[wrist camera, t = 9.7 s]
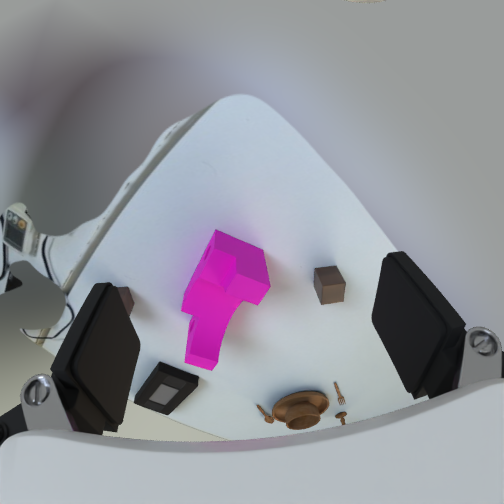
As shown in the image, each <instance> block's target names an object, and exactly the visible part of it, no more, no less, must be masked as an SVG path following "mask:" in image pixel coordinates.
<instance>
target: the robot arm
mask: <svg viewBox="0 0 504 504" xmlns="http://www.w3.org/2000/svg"><path fill="white" fill-rule="evenodd" d="M372 323H373V325H374V327H375V329H376V331H377V333H378V335H379V337H380V338H381V340H382V342H383V344H384V346H385V348H386V350H387V352H388V354H389V356H390V358H391V360H392V362H393V364H394V366H395V368H396V370H397V372H398V374H399V376H400V378H401V380H402V383H403V385H404V387H405V389H406V391H407V392H408V393H411V394H412V396H413V398H414V400H415V399H417V398H420V397H423V396H426V395H428V397H429V400H426V401H424V402H421V403H418V404H415V405H412V406H409V407H406V408H403V409H400V410H397V411H394V412H390V413H387V414H384V415H380V416H377V417H373V418H370V419H366V420H362V421H358V422H354V423H350V424H346V425H341V426H337V427H332V428H327V429H322V430H317V431H311V432H305V433H299V434H293V435H286V436H278V437H270V438H260V439H249V440H235V441H212V442H176V441H175V442H174V441H154V440H140V439H130V438H120V437H110V436H103V435H102V434H103V430H104V431H112V432H117V429H118V425H121V424H122V422H123V418H124V413H125V409H126V404H127V400H128V396H129V391H130V387H131V383H132V379H133V375H134V371H135V367H136V363H137V359H138V356H139V352H140V340H139V338H138V336H137V333H136V331H135V329H134V327H133V325H132V322H131V320H130V318H129V315H128V313H127V311H126V308H125V306H124V303H123V301H122V298H121V296H120V293H119V291H118V289H117V287H116V286H113V285H112V284H111V283H110V282H107V283H96V284H95V285H94V286H93V288H92V289H91V291H90V293H89V295H88V296H87V298H86V300H85V302H84V303H83V305H82V307H81V309H80V311H79V312H78V314H77V316H76V318H75V320H74V322H73V324H72V325H71V327H70V329H69V331H68V333H67V335H66V337H65V339H64V341H63V343H62V345H61V347H60V349H59V351H58V353H57V355H56V357H55V360H54V362H53V364H52V366H51V368H50V369H51V371H52V372H53V373H52V376H51V377H50V376H49V375H46V374H38V375H35V376H33V377H31V378H30V379H29V380H28V381H27V382H26V383H25V384H24V386H23V388H22V390H21V394H20V397H21V404H19V405H17V406H16V407H15V408H13V409H11V410H10V411H8V412H7V413H5V414H4V415H2V416H0V504H504V352H503V351H502V349H501V348H502V347H501V342H500V341H499V338H498V337H497V336H496V335H495V333H493V332H492V331H490V330H489V329H487V328H484V327H473V328H471V329H469V331H468V332H467V331H466V330H465V329H464V327H465V325H466V323H465V322H464V321H463V320H462V318H461V317H460V316H459V314H458V313H457V312H456V311H455V309H454V308H453V307H452V306H451V304H450V303H449V302H448V301H447V300H446V298H445V297H444V296H443V295H442V294H441V292H440V291H439V290H438V289H437V288H436V286H435V285H434V284H433V283H432V282H431V281H430V280H429V279H428V277H427V276H426V275H425V274H424V273H423V272H422V271H421V269H419V267H418V266H417V265H416V264H415V263H414V262H413V261H412V260H411V258H409V256H408V255H407V254H406V253H405V252H403V251H401V252H392V253H388V254H387V256H386V257H385V258H384V259H383V261H382V266H381V272H380V278H379V283H378V288H377V293H376V298H375V302H374V307H373V312H372Z"/></svg>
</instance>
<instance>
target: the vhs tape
mask: <svg viewBox="0 0 504 504" xmlns="http://www.w3.org/2000/svg"><path fill="white" fill-rule="evenodd" d="M198 379H199V377H198V376H195V375H192V374H190V373H187V372H184V371H182V370H179V369H177V368H174V367H172V366H169V365H167V364H164V363H162V362H159V363H158V364H157V366H156V367H155V369H154V370H153V371H152V373H151V374H150V376H149V377H148V378H147V380H146V381H145V383H144V384H143V386H142V387H141V388H140V390H139V391H138V393H137V394H136V395H135V399H134V403H135V404H137V405H140V406H142V407H145V408H148V409H151V410H153V411H156V412H159V413H162V414H165V415H169V414H170V413H171V412H172V411H173V410H174V409H175V408H176V407H177V406H178V405H179V404H180V403H181V402H182V401H183V400H184V399H185V398H186V397H187V396H188V395H189V394H190V393H192V392H193V391H194V390H195V389H196V388H197V387H198Z"/></svg>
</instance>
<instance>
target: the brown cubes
mask: <svg viewBox="0 0 504 504" xmlns="http://www.w3.org/2000/svg"><path fill="white" fill-rule="evenodd" d="M345 285H346V282H345V281H344V279H343V277H342V275H341V273H340V272H339V270H338V268H337V266H329V267H321V268H315V272H314V288H315V290H316V293H317V295H318V298H319V300H320V303H321V305H324V304H331V303H337V302H343V300H344V293H345ZM117 289H118V291H119V293H120V296H121V298H122V301H123V303H124V306H125V308H126V311H127V313H128V315H129V316H130V314H131V311H132V308H133V306H134V302H133V299H132V296H131V294H130V291H129V288H128V287H118V288H117Z"/></svg>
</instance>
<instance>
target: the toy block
mask: <svg viewBox="0 0 504 504" xmlns="http://www.w3.org/2000/svg"><path fill="white" fill-rule="evenodd" d="M270 287H271V286H270V281H269V276H268V271H267V267H266V262H265V257H264V252H263V250H262V249H260V248H257V247H255V246H253V245H250V244H248V243H246V242H244V241H241V240H239V239H237V238H234V237H232V236H230V235H227V234H225V233H223V232H220V231H218V230H215V232H214V234H213V236H212V238H211V240H210V242H209V244H208V246H207V248H206V250H205V252H204V254H203V256H202V258H201V260H200V262H199V264H198V266H197V268H196V270H195V272H194V274H193V276H192V278H191V281H190V283H189V285H188V287H187V289H186V291H185V293H184V297H183V303H182V308H181V311H182V312H185V313H188V314H191V315H193V317H192V319H191V321H190V323H189V330H188V338H187V346H186V354H185V362H184V363H187V364H191V365H194V366H197V367H201V368H204V369H207V370H211V371H212V370H213V369H214V367H215V366H216V365H217V363H218V358H219V352H220V347H221V343H222V339H223V336H224V333H225V330H226V328H227V325H228V323H229V321H230V319H231V317H232V315H233V313H234V312H235V310H236V308H237V307H238V306H239V305H240V303H241V302H242V301H243V300H244V301H247V302H250V303H253V304H255V305H258V304H259V303H260V301H261V300H262V298H263V297H264V296H265V294H266V293H267V291H268V290H269V288H270Z"/></svg>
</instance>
